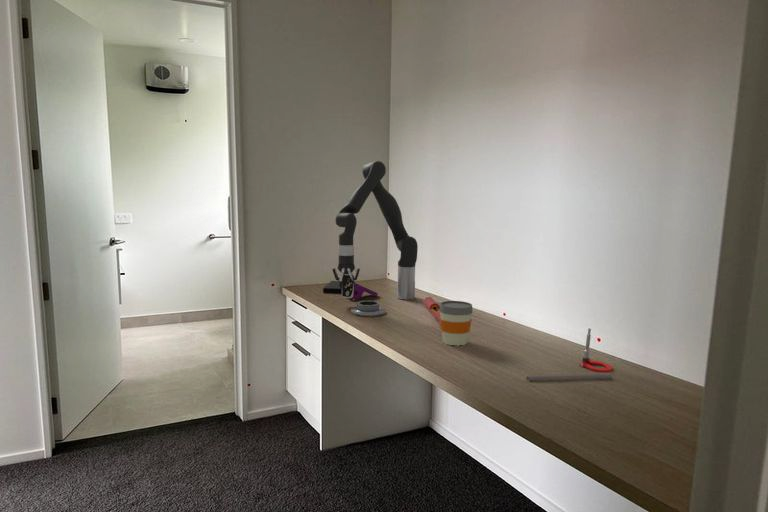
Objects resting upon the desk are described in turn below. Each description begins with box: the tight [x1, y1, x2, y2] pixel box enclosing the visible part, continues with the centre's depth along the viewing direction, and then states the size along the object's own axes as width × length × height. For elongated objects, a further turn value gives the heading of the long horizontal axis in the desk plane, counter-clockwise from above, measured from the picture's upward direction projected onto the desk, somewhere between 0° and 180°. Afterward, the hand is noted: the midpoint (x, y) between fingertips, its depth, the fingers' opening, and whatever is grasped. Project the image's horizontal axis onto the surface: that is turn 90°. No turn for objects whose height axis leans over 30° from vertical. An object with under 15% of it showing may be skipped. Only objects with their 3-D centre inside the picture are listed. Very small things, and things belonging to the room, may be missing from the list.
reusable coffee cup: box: [439, 300, 474, 347], centre depth 198 cm, size 13×13×15 cm
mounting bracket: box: [349, 282, 379, 300], centre depth 277 cm, size 10×8×18 cm
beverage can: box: [341, 272, 355, 299], centre depth 255 cm, size 6×6×12 cm
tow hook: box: [579, 328, 613, 373], centre depth 173 cm, size 8×13×9 cm
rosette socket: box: [350, 300, 386, 317], centre depth 243 cm, size 16×16×4 cm
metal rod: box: [526, 372, 613, 382], centre depth 163 cm, size 2×27×2 cm, turn 97°
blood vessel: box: [423, 296, 441, 323], centre depth 239 cm, size 42×5×5 cm, turn 7°
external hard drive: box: [322, 280, 356, 294], centre depth 298 cm, size 14×23×3 cm, turn 175°
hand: (346, 288), depth 255 cm, fingers closed on beverage can, 4 cm apart
